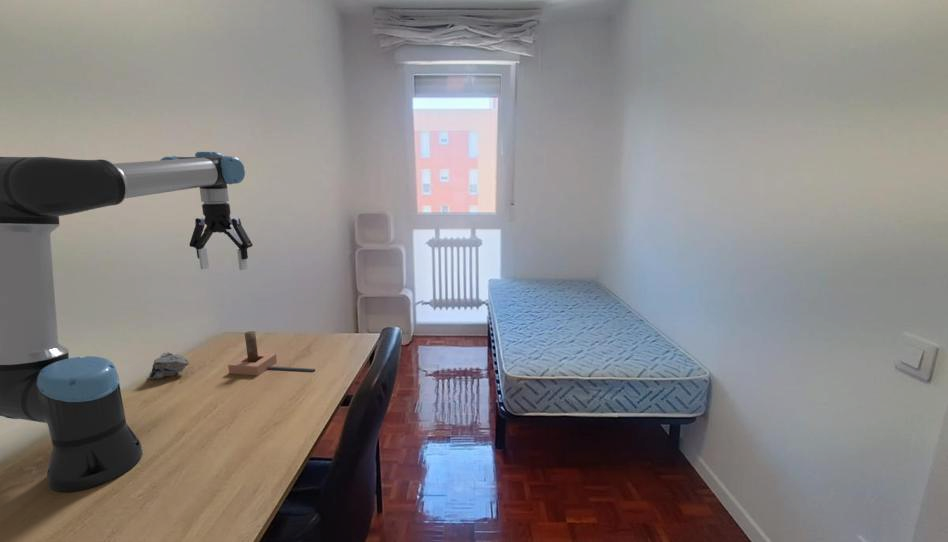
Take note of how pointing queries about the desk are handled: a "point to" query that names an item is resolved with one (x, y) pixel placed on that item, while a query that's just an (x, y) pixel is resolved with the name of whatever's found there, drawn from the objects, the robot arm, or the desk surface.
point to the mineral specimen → (168, 365)
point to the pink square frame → (252, 364)
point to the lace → (290, 368)
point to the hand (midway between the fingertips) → (224, 268)
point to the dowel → (251, 346)
